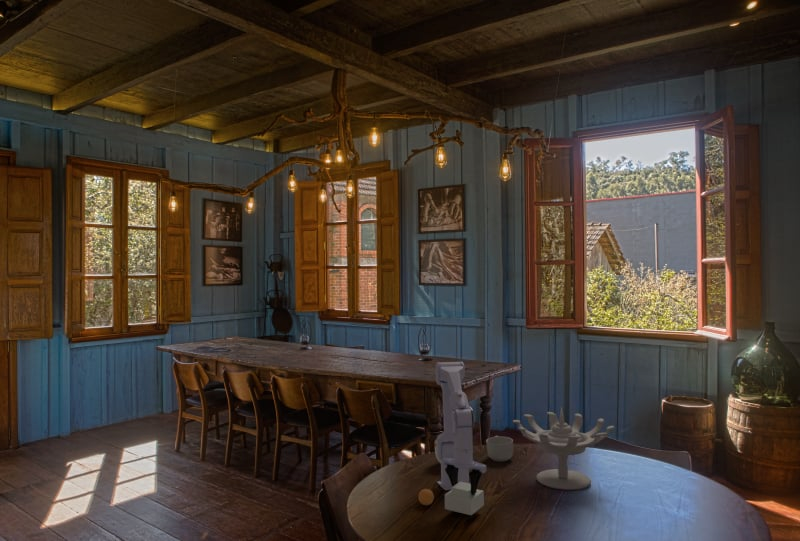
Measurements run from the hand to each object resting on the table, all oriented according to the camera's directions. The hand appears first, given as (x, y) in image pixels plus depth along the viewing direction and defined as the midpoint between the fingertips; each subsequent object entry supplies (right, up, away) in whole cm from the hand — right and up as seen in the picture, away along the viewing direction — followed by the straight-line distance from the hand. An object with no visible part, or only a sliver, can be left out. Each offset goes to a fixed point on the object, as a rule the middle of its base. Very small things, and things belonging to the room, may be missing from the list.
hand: (464, 491), depth 171 cm
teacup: (+21, -8, +53) cm, 58 cm away
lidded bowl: (0, -8, +46) cm, 47 cm away
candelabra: (+38, -7, +25) cm, 47 cm away
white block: (0, -5, 0) cm, 5 cm away
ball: (-12, -5, +8) cm, 15 cm away
